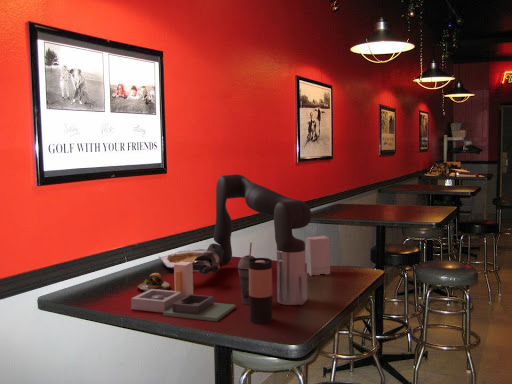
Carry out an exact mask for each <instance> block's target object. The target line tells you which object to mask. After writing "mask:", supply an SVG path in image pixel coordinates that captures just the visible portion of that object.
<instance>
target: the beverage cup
mask: <svg viewBox="0 0 512 384" xmlns="http://www.w3.org/2000/svg"><path fill="white" fill-rule="evenodd" d="M252 244H253V243H252V242H250V243H249V253H248V255H244V256H242V257H241V258H240V260H239V261H238V265H237V272H238V275H239V284H240V294H241V295H240V296H241V300H242V301H241V303H242V304H244V305H249V260H250V259H253V258H256V257H255V256H253V255H252V247H253V246H252Z"/></svg>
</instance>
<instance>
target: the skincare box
mask: <svg viewBox="0 0 512 384" xmlns="http://www.w3.org/2000/svg"><path fill="white" fill-rule="evenodd" d="M330 252H331V251H330V238H329V237H328V236H326V235H317V236H307V237H305V258H306V272H307V274H308V273H309V274H308V275H309V276H311V277H313V276H312V275H315V276H321V275H320V274H325V275H330V274H331V261H330V259H331V258H330V256H331V253H330Z"/></svg>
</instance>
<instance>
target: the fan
mask: <svg viewBox="0 0 512 384" xmlns="http://www.w3.org/2000/svg"><path fill="white" fill-rule="evenodd" d="M182 298H183V292H180V291H175V290H170V289H169V290H165V289H163V290H158V289H150V290H148V291H143V292H142V293H139V294H138V295H136V296H133V297H132V298H130V300H131V303H130V304H131V305H130V307H131V310H135V311H142V312H143V311H144V312H153V313H154V312H155V313H162V314H163V312H165V311H166V310H168V309H170V308H172V304H173V303H175V302H176V301H178V300H180V299H182Z"/></svg>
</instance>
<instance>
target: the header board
mask: <svg viewBox="0 0 512 384" xmlns="http://www.w3.org/2000/svg"><path fill="white" fill-rule="evenodd" d="M214 299H215V298H214V295H213V296H212V295H202V294H201V295H200V294H194V293H193V294H189V295H187V296H185V297H184V298H182V299H180V300H178V301H176V302H175V303H173V304H172V308H170V309H168V310H166V311H165V312H163V313H162V315H163V316H165V317H174V318H181V319H182V318H183V319H192V320H193V319H194V320H201V321H209V322H218V321H220V320H221V319H222V318H224V317H225V316H226V315H228V314H230V312H232V311H233V310H234V309H235V308H236V304H233V303H221V302H215V301H214Z"/></svg>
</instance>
